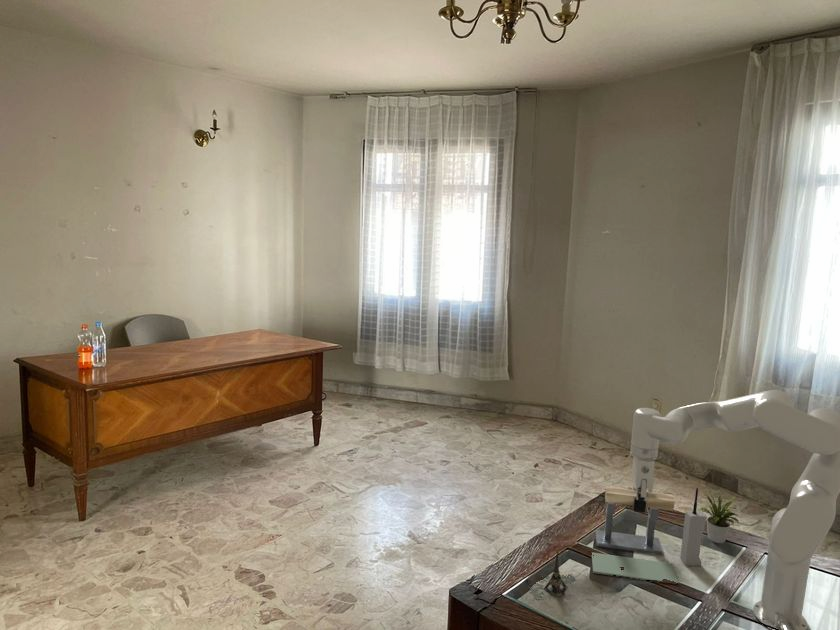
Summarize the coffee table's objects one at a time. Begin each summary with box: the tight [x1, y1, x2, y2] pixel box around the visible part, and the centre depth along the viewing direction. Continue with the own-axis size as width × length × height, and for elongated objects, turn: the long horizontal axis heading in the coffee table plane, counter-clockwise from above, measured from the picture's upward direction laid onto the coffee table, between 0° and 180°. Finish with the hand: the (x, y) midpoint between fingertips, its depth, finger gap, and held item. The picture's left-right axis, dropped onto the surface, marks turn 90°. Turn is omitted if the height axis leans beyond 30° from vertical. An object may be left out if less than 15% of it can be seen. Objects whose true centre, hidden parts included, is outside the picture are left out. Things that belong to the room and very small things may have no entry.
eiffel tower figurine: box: [529, 550, 577, 600], centre depth 172 cm, size 15×10×13 cm
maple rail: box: [604, 486, 675, 511], centre depth 178 cm, size 4×19×3 cm, turn 77°
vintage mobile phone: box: [680, 487, 708, 567], centre depth 184 cm, size 4×5×25 cm
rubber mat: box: [591, 551, 679, 584], centre depth 183 cm, size 10×24×1 cm, turn 77°
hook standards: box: [595, 501, 664, 556], centre depth 195 cm, size 8×20×15 cm, turn 77°
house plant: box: [693, 492, 742, 544], centre depth 198 cm, size 14×14×16 cm
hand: (638, 507), depth 179 cm, fingers closed on maple rail, 4 cm apart
